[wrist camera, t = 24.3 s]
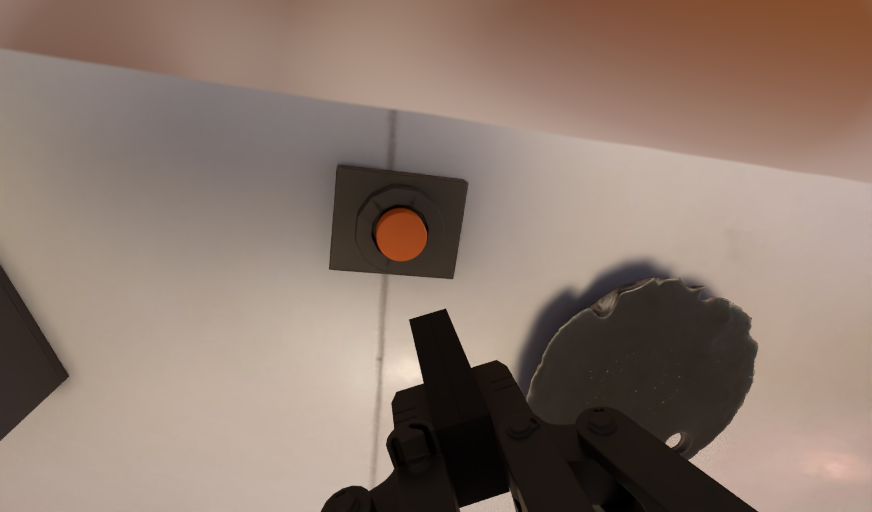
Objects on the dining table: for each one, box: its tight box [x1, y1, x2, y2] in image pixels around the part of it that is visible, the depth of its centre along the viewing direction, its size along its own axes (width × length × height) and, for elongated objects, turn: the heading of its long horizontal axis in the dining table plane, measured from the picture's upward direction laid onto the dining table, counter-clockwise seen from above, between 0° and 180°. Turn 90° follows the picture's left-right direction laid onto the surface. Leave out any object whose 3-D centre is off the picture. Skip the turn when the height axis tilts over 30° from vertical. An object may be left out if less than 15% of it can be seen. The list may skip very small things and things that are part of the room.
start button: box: [376, 208, 427, 261], centre depth 34 cm, size 4×4×2 cm
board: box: [526, 278, 758, 460], centre depth 43 cm, size 22×22×5 cm
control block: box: [329, 165, 468, 279], centre depth 36 cm, size 10×8×4 cm
